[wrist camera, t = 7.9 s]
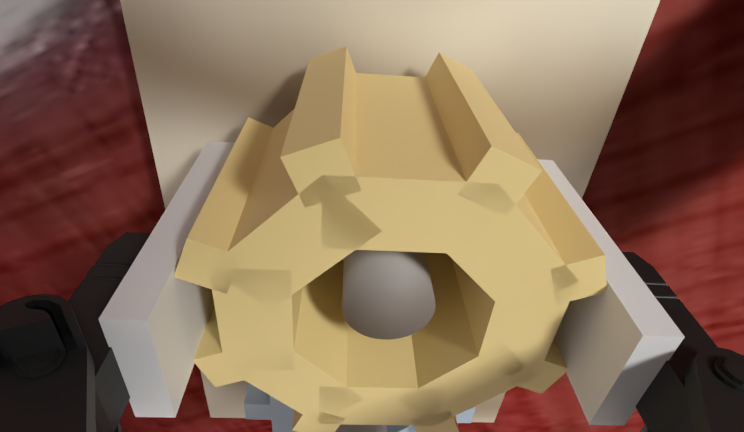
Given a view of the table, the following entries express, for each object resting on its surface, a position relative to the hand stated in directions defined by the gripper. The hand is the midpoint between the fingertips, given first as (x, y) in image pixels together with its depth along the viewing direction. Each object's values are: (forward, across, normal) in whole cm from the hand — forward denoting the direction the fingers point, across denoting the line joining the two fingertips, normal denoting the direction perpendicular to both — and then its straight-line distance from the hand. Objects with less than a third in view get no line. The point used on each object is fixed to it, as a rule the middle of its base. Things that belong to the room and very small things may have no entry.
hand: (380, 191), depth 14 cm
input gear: (0, 0, 0) cm, 0 cm away
